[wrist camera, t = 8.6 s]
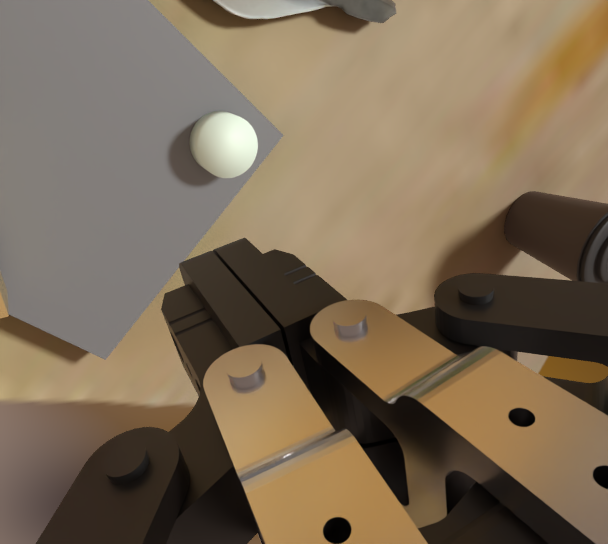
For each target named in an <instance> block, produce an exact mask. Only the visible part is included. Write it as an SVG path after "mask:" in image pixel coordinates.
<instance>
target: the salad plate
mask: <svg viewBox="0 0 608 544" xmlns="http://www.w3.org/2000/svg"><path fill="white" fill-rule="evenodd" d="M213 1H214V2H216V3H217V4H218V5H220V6H221V7H223V8H224V9H225V10H226V11H228V12H229V13H231V14H234V15H237V16H240V17H243V18H246V19H271V18H279V17H283V16H288V15H292V14H298V13H303V12H309V11H313V10H317V9H321V8H324V7H329V6H336V7H339V8H341V9H342V10H343V11H344V12H345V13H346V14H348V15H351V16H354V17H356V18H360V19H362V20H367V21H371V22H378V23H384V22H385V21H386V20H388V19H389V17H391V16H393V15H395V14H396V8H395V3H394V2H393V1H392V0H213Z"/></svg>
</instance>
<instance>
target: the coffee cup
mask: <svg viewBox="0 0 608 544" xmlns="http://www.w3.org/2000/svg"><path fill="white" fill-rule="evenodd" d="M504 233H505V236H506V239H507V240H508V242H509V243H510V244H512V245H514V246H515V247H517V248H519V249H520V250H522V251H524V252H525V253H527V254H529V255H530V256H532V257H534V258H535V259H537V260H539V261H540V262H542V263H544V264H546V265H547V266H549V267H551V268H552V269H554V270H556V271H557V272H559V273H561V274H562V275H564V276H566V277H567V278H569V279H571V280H572V281H582V282H594V283H606V284H608V204H605V203H599V202H594V201H588V200H582V199H576V198H570V197H564V196H559V195H553V194H547V193H541V192H528V193H525V194H523V195H522V196H521V197H519V198H518V199H517V200H516V201H515V202H514V204H513V205H512V207H511V208H510V210H509V212H508V214H507V217H506V221H505V225H504Z"/></svg>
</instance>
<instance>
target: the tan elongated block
mask: <svg viewBox="0 0 608 544" xmlns="http://www.w3.org/2000/svg"><path fill="white" fill-rule="evenodd" d="M8 316H9V311H8V294H7V289H6V286H5V283H4V280H3V277H2V274H1V271H0V318H4V317H8Z"/></svg>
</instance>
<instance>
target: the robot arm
mask: <svg viewBox="0 0 608 544" xmlns="http://www.w3.org/2000/svg"><path fill="white" fill-rule="evenodd" d="M179 268H180V271H181V275H182V278H183V280H184V283H185V286H183V287H180V288H178V289H175V290H173V291H170V292H168V293H165V295H164V299H163V304H162V308H161V310H162V312H163V315H164V318H165V320H166V323H167V325H168V328H169V331H170V333H171V336H172V338H173V341H174V344H175V346H176V349H177V351H178V354H179V357H180V359H181V362H182V364H183V367H184V368H185V370H186V372H187V374H188V376H189V378H190V380H191V382H192V384H193V386H194V388H195V390H196V392H197V393H198V396H199V398H198V401H197V403H196V405H195V406H194V408H193V409H192V411H191V412H190V413H189V414H188V415H187V417H186V418H185V419H184V420H183V421H181V422H180V423H179V424H178V425H177V426H175V427H174V428H173V429H172V430H171V431H169V432H167V431H165V430H163V429H159V428H154V427H143V428H137V429H133V430H130V431H126V432H124V433H122V434H119V435H117V436H116V437H114V438H112V439H110V440H109V441H107V442H106V443H105V444H103V445H102V446H101V447H100V448H99V449H97V450H96V451H95V452H94V453H93V455H92V456H91V457H90V458H89V459H88V461H87V462H86V463H85V465H84V467H83V468H82V470H81V471H80V473H79V475H78V476H77V478H76V479H75V481H74V483H73V484H72V486H71V488H70V489H69V491H68V492H67V494H66V496H65V497H64V499H63V501H62V502H61V504H60V505H59V507H58V509H57V510H56V512H55V513H54V515H53V517H52V518H51V520H50V522H49V523H48V525H47V526H46V528H45V530H44V531H43V533H42V534H41V536H40V538H39V540H38V541H37V543H36V544H247V543H248V542H249V541H250V540H251V539H252V538H253V537H254V536H255V535H256V534H257V533H258V535H259V538H260V540H261V543H262V544H608V376H607V377H606V378H605V379H604V380H602V381H600V382H596V383H582V382H576V381H569V380H563V379H556V378H549V377H543V376H541V375H539V374H537V373H536V372H534V371H532V370H531V369H529V368H527V367H526V366H524V365H522V364H521V363H519V362H517V351H518V352H525V353H532V354H539V355H547V356H554V357H561V358H569V359H577V360H583V361H591V362H597V363H600V364H603V365H606V366H608V284H606V283H594V282H582V281H569V280H557V279H544V278H532V277H519V276H507V275H494V274H481V273H472V274H463V275H459V276H455V277H452V278H450V279H448V280H446V281H444V282H443V283H442V284H440V285H439V286H438V288H437V289H436V291H435V294H434V300H435V307H431V308H427V309H422V310H418V311H413V312H409V313H404V314H398V315H395V314H393V313H392V312H390V311H389V310H387V309H386V308H384V307H383V306H381V305H379V304H377V303H375V302H372V301H367V300H347V299H346V298H344V297H343V296H342V295H341V294H340V293H339V292H337V291H336V290H335V289H334V288H333V287H331V286H330V285H329V284H328V283H327V282H325V281H324V280H323V279H322V278H321V277H319V276H318V275H317V276H316V274H315V272H314V271H312V270H311V269H310V268H309V267H306V265H305V264H304V263H303V262H302V261H300V260H299V259H298V258H297V257H296V256H295V255H293V254H289V253H286V252H282V251H279V250H275V249H274V250H272V251H269V252H267V253H264V254H262V253H261V252H260V251H259V250H258V249H257V248H256V247H255V246H253V245H252V244H251V243H250V242H249V241H248V240H247V239H246V238H243V239H240V240H237V241H235V242H232V243H230V244H227V245H224V246H222V247H219V248H217V249H214V250H213V252H212V251H209V252H207V253H204V254H202V255H199V256H196V257H194V258H191V259H189V260H186V261H183V262H181V263H179Z"/></svg>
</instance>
